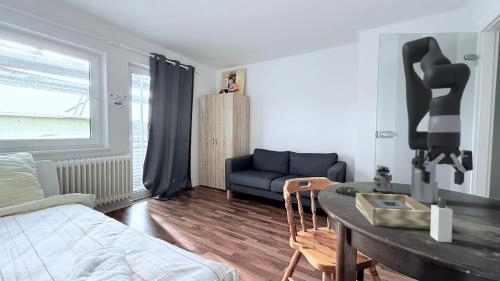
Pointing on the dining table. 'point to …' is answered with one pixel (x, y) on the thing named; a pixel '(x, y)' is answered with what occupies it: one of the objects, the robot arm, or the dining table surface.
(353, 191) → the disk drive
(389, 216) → the walled box
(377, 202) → the block
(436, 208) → the plug
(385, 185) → the figurine
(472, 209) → the dining table surface
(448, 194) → the dining table surface
